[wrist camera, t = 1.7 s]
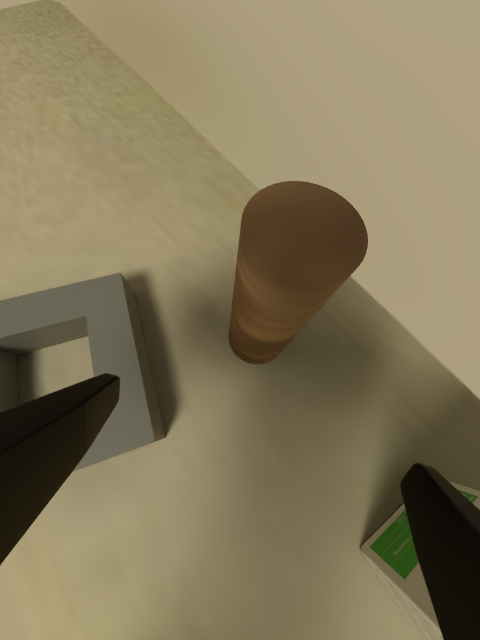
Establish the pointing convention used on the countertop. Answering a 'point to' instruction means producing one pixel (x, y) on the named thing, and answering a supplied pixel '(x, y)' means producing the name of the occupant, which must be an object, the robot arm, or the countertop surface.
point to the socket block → (106, 352)
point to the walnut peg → (290, 263)
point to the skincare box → (406, 569)
